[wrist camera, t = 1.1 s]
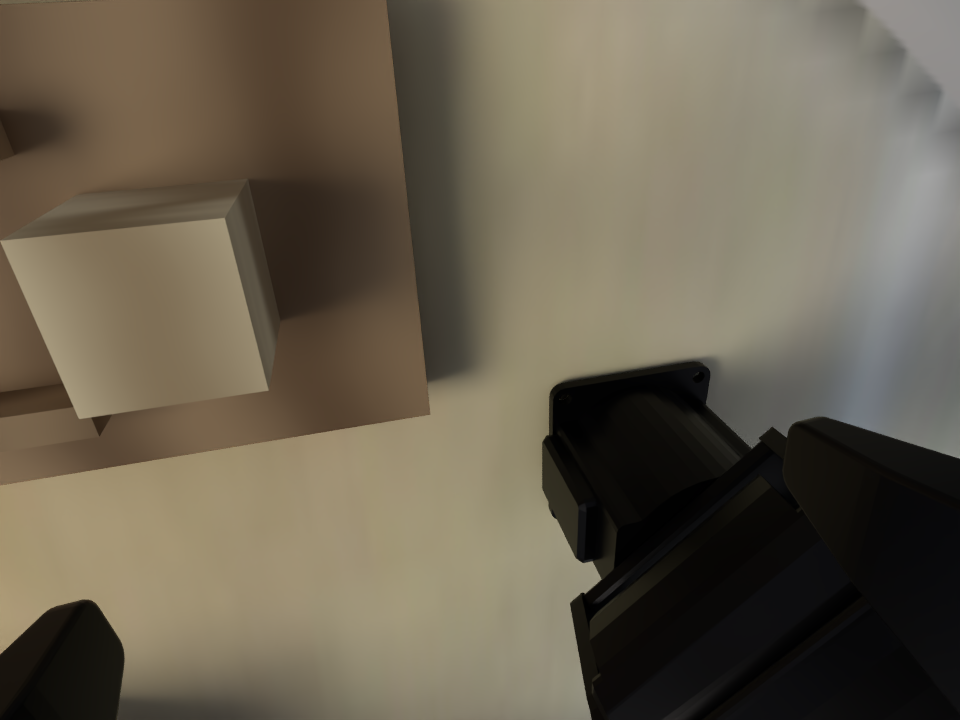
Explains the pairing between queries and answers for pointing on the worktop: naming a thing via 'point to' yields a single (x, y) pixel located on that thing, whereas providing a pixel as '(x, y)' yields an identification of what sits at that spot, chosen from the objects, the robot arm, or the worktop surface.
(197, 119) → the lane deck
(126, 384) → the maple block
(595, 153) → the worktop surface
